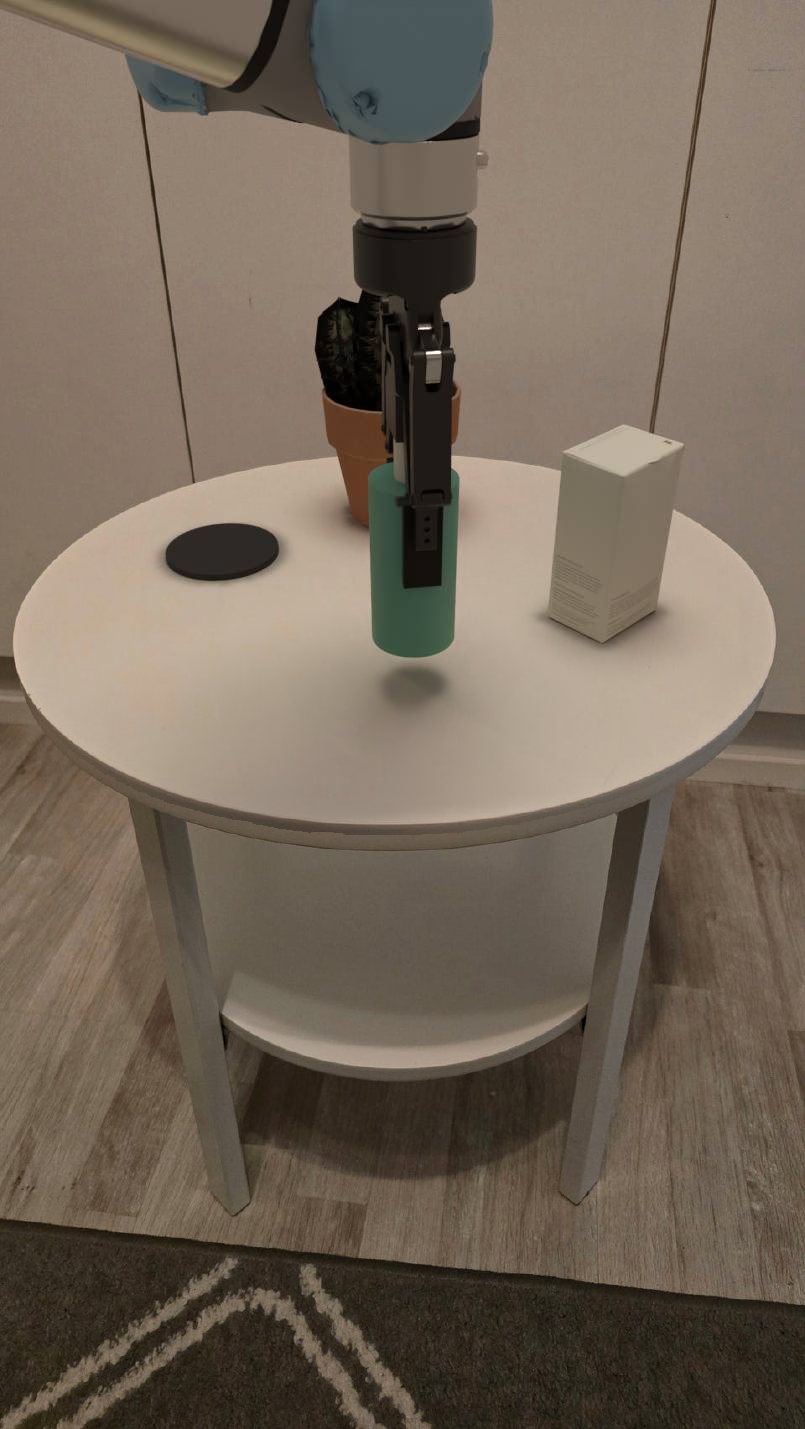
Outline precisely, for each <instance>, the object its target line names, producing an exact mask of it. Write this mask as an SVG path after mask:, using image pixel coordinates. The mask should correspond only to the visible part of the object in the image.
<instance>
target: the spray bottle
mask: <svg viewBox="0 0 805 1429" xmlns="http://www.w3.org/2000/svg"><path fill="white" fill-rule="evenodd" d="M402 375H403V382H404V383H405V384H409V381H410V378H409V377H407V376H406V375H404V374H403V373H402ZM385 382H386V420H387V423H388V425H389V428H390V430H391V432H392V435H393V446H394V462H391V463H387V464H384V465H381V466H379V467H377V468H375V469H374V470H373V471H372V472H371V473H370V474H369V476H368V498H369V527H368V529H369V530H368V531H369V532H368V533H369V536H368V538H369V569H370V570H369V571H370V573H369V575H370V611H371V638H372V642H373V643H374V644H375V646H376V647H377V648H379V649H380V650H381V651H383V652H385V653H387V654H389V655H392V656H396V657H401V658H409V659H417V658H427V657H431V656H435V655H438V654H440V653H442V652H444V651H445V650H447V649H448V648H450V646H451V645H452V644H453V642H454V640H455V633H456V632H455V630H456V629H455V628H456V599H457V572H458V569H457V568H458V567H457V566H458V540H459V539H458V538H459V537H458V536H459V512H460V510H459V509H460V480H461V478H460V475H459V473H458V472H457V471H456V470H455V469H454V468H452V467H451V492H452V500H451V505H450V506H443V549H442V586H433V587H421V588H409V589H404V587H403V584H402V507H397V506H396V503H395V497H400V496H405V493H406V485H405V466H404V447H403V428H402V401H401V398H400V397H398V396H396V394H394V393H393V385H392V367H391V359H387V365H386V376H385Z"/></svg>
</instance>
